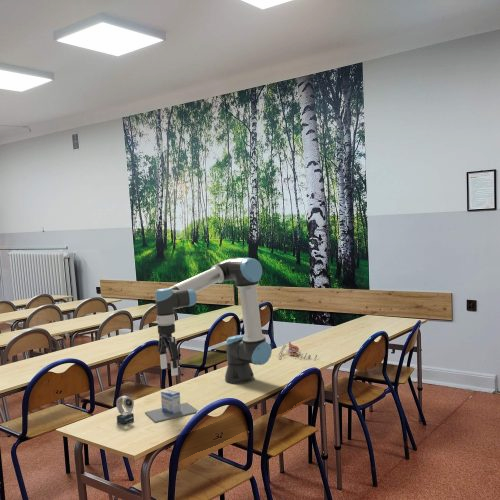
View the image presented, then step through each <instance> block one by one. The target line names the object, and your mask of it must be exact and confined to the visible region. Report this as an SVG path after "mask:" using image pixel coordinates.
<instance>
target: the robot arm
mask: <svg viewBox="0 0 500 500" xmlns="http://www.w3.org/2000/svg"><path fill="white" fill-rule="evenodd" d="M262 276H263V268H262V264H261V263H260V261H259V260H257V259H256V258H254V257H253V258H252V257H230V258H226V259H225V260H222V261H220V262H218V263H216V264H213V265H212V266H211V267H210V269H208V270H205V271H203V272H201V273H198V274H197V275H194V276H192V277H190V278H187V279H185V280H183V281H181V282H179V283H177V284H175V285H172V286H170V287H166V288H159V289H156V290H155V297H154V298H155V299H154V300H155V308H156V309H155V311H156V318H155V320H156V323H157V333H158V347H157V351H158V353H159V358H160V369H161V370H165V369H168V361H167V350H168V353H169V357H170V360H169V362H170V371H171V372H170V373H171V376H172V377H174V376H178V375H179V368H178V367H179V366H178V360H180V356H179V352H178V346H177V343H176V337H175V336H173V335H172V334H173V333H175V332H176V324H175V322H176V320H175V310H176V309H183V308H186V307H188V308H189V307H192V306H195V305H196V303H197V301H198V300H197V299H198V297H197V293H198V292H200V291H201V290H202V291H203V290H204V289H206V288H209V287H210V286H213V285H215V284H217V283H218V284H221V283H224V282H227V281H234V282H235V287H236V288H238V290H239V296H240V297H239V298H240V304H241V315H242V320H243V329H244V334H237V335H232V336H229V337H227V338H226V341H225V342H226V344H225V347H226V348H225V349H226V359H227V367H226V370H225V371H226V372H225V374H224V381H225V382H226V383H228V384H246V383H250V382H251V381H253V380H254V379H255V376H254V375H255V374H254V372H253V369H252V366H251V364H252V365H256V366H262V365H265V364H266V363H267V362H268V361H269V360H270V359H271V357H272V345H271V344H269V342H267V341H266V335H265V334H264V333H263V332H262V331H263V330H262V324H261V323H262V321H261V314H260V306H259V298H258V297H259V296H258V290H257V289H258V288H257V287H258V286H259V284H260V280H261V278H262ZM249 381H250V382H249ZM245 382H246V383H245Z"/></svg>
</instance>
